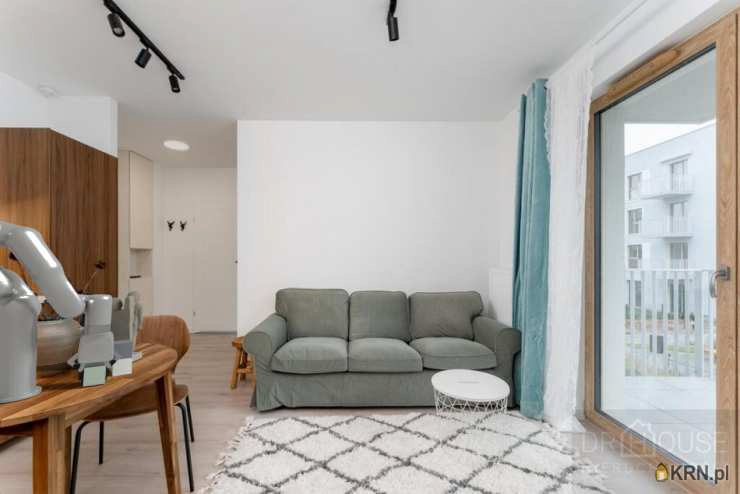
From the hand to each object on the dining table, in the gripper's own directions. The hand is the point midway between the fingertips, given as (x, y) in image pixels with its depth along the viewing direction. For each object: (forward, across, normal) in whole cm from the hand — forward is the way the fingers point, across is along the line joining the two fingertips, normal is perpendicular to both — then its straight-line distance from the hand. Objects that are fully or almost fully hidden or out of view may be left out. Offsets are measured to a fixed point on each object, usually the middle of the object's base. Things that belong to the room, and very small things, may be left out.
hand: (93, 380), depth 129 cm
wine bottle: (+2, -2, +27) cm, 27 cm away
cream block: (+1, +9, +9) cm, 13 cm away
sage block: (+1, 0, 0) cm, 1 cm away
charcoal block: (-5, +9, +9) cm, 13 cm away
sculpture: (+1, +12, +28) cm, 30 cm away
